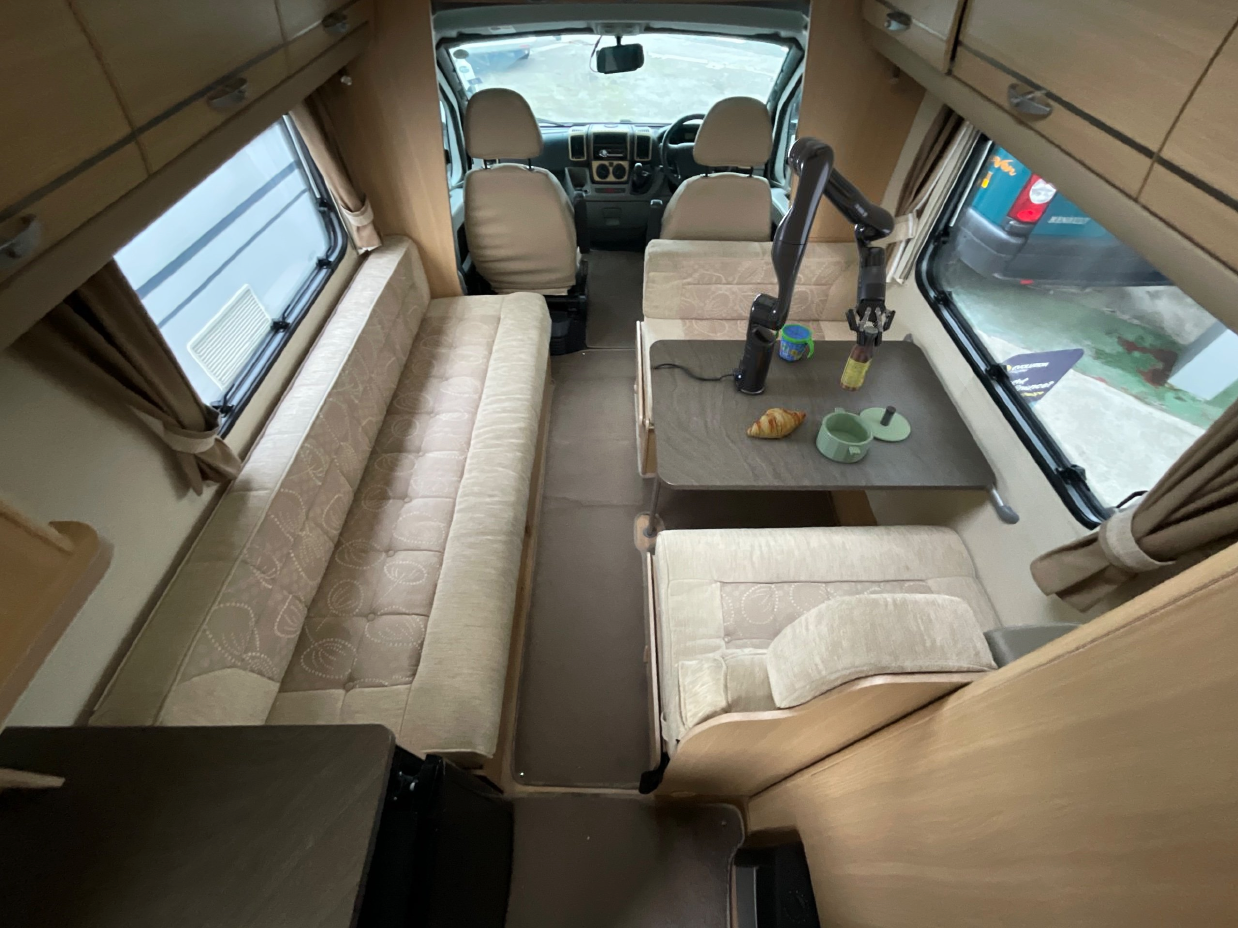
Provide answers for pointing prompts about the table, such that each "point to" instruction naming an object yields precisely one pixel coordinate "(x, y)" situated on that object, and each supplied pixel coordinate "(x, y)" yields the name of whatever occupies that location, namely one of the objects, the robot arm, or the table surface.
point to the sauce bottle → (859, 361)
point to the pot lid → (887, 423)
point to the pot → (844, 436)
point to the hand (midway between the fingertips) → (868, 345)
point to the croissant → (776, 423)
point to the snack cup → (794, 341)
